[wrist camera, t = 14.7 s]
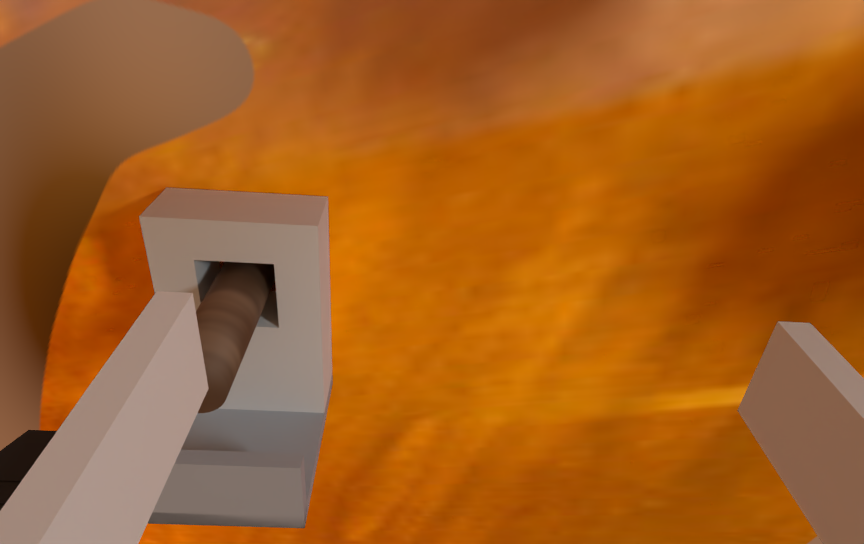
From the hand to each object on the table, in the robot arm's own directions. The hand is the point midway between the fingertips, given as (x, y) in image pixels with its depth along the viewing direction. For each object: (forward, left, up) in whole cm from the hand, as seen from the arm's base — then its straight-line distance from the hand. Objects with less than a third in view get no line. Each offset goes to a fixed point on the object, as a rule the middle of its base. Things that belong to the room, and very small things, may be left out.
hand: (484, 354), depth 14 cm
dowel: (+16, -14, -31) cm, 37 cm away
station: (+19, -14, -31) cm, 39 cm away
